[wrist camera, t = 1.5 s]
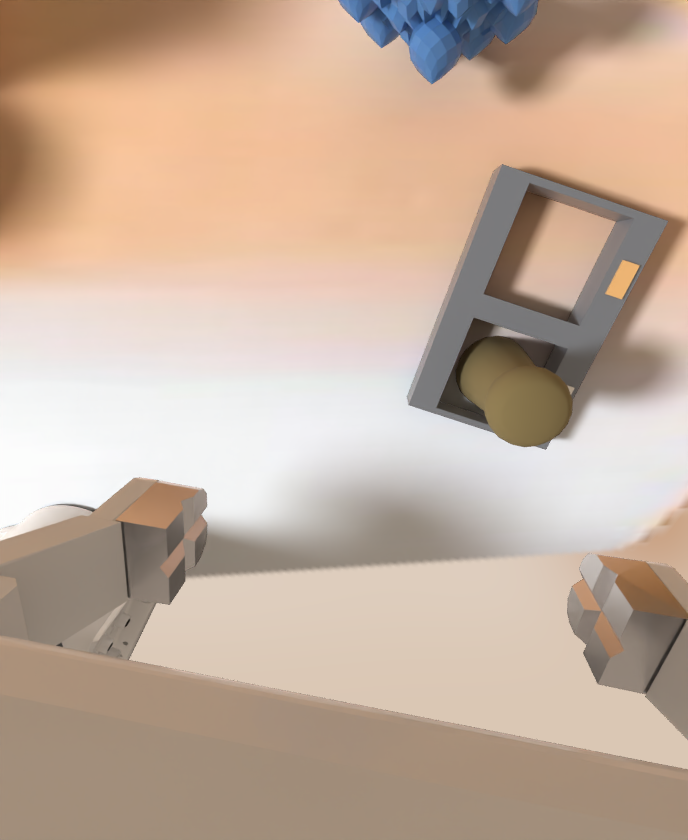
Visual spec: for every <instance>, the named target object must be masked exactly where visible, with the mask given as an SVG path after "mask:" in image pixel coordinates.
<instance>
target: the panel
mask: <svg viewBox="0 0 688 840" xmlns="http://www.w3.org/2000/svg"><path fill="white" fill-rule="evenodd" d="M526 191H528V192H531V193H534V194H537V195H540V196H543V197H545V198H548V199H551V200H554V201H557V202H560V203H563V204H566V205H569V206H572V207H575V208H578V209H581V210H584V211H586V212H589V213H592V214H595V215H598V216H601V217H604V218H607V219H610V220H613V221H616V223H615V225H614V227H613V229H612V231H611V233H610V235H609V237H608V239H607V241H606V243H605V245H604V248H603V250H602V252H601V254H600V256H599V258H598V260H597V262H596V264H595V266H594V268H593V270H592V272H591V274H590V276H589V278H588V280H587V282H586V284H585V286H584V288H583V290H582V292H581V294H580V296H579V298H578V300H577V302H576V304H575V306H574V308H573V310H572V312H571V314H570V316H569V318H568V320H567V322H566V321H563V320H560V319H557V318H554V317H551V316H548V315H545V314H542V313H539V312H536V311H533V310H530V309H527V308H524V307H521V306H518V305H515V304H512V303H509V302H506V301H503V300H500V299H497V298H494V297H491V296H488V295H485V294H484V291H485V289H486V287H487V284H488V282H489V279H490V277H491V274H492V272H493V270H494V267H495V265H496V262H497V260H498V258H499V255H500V253H501V250H502V248H503V246H504V243H505V241H506V238H507V236H508V233H509V231H510V229H511V226H512V224H513V221H514V219H515V217H516V214H517V212H518V209H519V207H520V205H521V202H522V200H523V197H524V195H525V192H526ZM667 223H668V221H666V220H663V219H661V218H658V217H655V216H652V215H649V214H646V213H643V212H640V211H637V210H634V209H631V208H628V207H626V206H623V205H620V204H617V203H614V202H611V201H608V200H605V199H602V198H599V197H596V196H593V195H590V194H588V193H585V192H582V191H579V190H576V189H573V188H570V187H567V186H564V185H561V184H558V183H555V182H553V181H550V180H547V179H544V178H541V177H538V176H535V175H532V174H529V173H526V172H523V171H520V170H517V169H515V168H512V167H509V166H506V165H503V164H502V165H501V166H499V167H498V168H497V169H496V170H494V171H493V174H492V177H491V179H490V182H489V184H488V187H487V190H486V192H485V195H484V197H483V200H482V203H481V205H480V208H479V210H478V213H477V216H476V218H475V221H474V223H473V226H472V229H471V231H470V234H469V236H468V239H467V242H466V244H465V247H464V249H463V252H462V255H461V257H460V260H459V263H458V265H457V268H456V270H455V273H454V276H453V278H452V281H451V283H450V286H449V289H448V291H447V294H446V296H445V299H444V302H443V304H442V307H441V309H440V312H439V315H438V317H437V320H436V322H435V325H434V328H433V330H432V333H431V335H430V338H429V341H428V343H427V346H426V349H425V351H424V354H423V356H422V359H421V362H420V364H419V367H418V369H417V372H416V375H415V377H414V380H413V382H412V385H411V388H410V390H409V393H408V395H407V399H408V404H409V405H410V406H413V407H416V408H419V409H422V410H425V411H428V412H432V413H435V414H438V415H441V416H444V417H447V418H450V419H453V420H456V421H459V422H462V423H465V424H468V425H472V426H475V427H478V428H481V429H484V430H487V431H490V432H493V433H494V431H493V430H492V429H491V428H490V426H489V424H488V421H487V419H486V416H483V415H480V414H477V413H474V412H471V411H468V410H465V409H462V408H459V407H456V406H453V405H450V404H447V403H444V402H440V401H439V400H440V398H441V395H442V393H443V390H444V388H445V385H446V383H447V381H448V378H449V376H450V373H451V371H452V369H453V366H454V364H455V361H456V359H457V357H458V354H459V352H460V349H461V347H462V344H463V342H464V340H465V337H466V335H467V332H468V330H469V328H470V325H471V323H472V320H473V318H477V319H480V320H483V321H486V322H489V323H492V324H495V325H498V326H501V327H504V328H507V329H510V330H513V331H516V332H519V333H522V334H525V335H528V336H531V337H534V338H537V339H540V340H543V341H546V342H549V343H552V344H555V346H554V349H553V351H552V353H551V355H550V357H549V359H548V361H547V363H546V365H545V367H544V368H546V369H547V370H549V371H551V372H553V373H554V374H556V375H558V376H559V377H560V378H561V379H562V380H563V381H564V383H565V384H566V385H567V386H568V388H569V391H570V394H571V397H572V400H573V398H574V396H575V394H576V393H577V391H578V389H579V387H580V385H581V383H582V381H583V380H584V378H585V376H586V374H587V372H588V370H589V368H590V366H591V365H592V363H593V361H594V359H595V357H596V355H597V353H598V351H599V350H600V348H601V346H602V344H603V342H604V340H605V338H606V337H607V335H608V333H609V331H610V329H611V327H612V325H613V323H614V322H615V320H616V318H617V316H618V314H619V312H620V310H621V309H622V307H623V305H624V303H625V301H626V299H627V297H628V295H629V294H630V292H631V290H632V288H633V286H634V284H635V282H636V281H637V279H638V277H639V275H640V273H641V271H642V269H643V267H644V266H645V264H646V262H647V260H648V258H649V256H650V254H651V253H652V251H653V249H654V247H655V245H656V243H657V241H658V239H659V238H660V236H661V234H662V232H663V230H664V228H665V226H666V225H667ZM550 441H551V440H550ZM550 441H549V442H546V443H544V444H541V445H538V446H536V447H539V448H542V449H545V450H546V449H547V447H548V445H549V443H550Z"/></svg>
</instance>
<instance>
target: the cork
mask: <svg viewBox="0 0 688 840" xmlns="http://www.w3.org/2000/svg"><path fill="white" fill-rule="evenodd" d="M456 381H457V384H458V386H459V389H460V391H461V392H462V393H463V394H464V396H465V397H466V398H467V399H468V400H470V401H471V402H472V403H474V404H475V405H477V406H478V407H479V408H481V409H482V410H483V411H485V416H486V419H487V421H488V424H489V426H490V428H491V429H492V430H493V431H494V433H495V434H496V435H497V436H498V437H499V438H501V439H503V440H505V441H506V442H508V443H510V444H512V445H517V446H522V447H531V446H538V445H541V444H544V443H546V442H549V441H550V440H552V439H553V438H555V437H556V436H557V435H559V434H560V433H561V432H562V430H563V429H564V428H565V427H566V425H567V424H568V422H569V419H570V417H571V414H572V404H573V400H572V397H571V394H570V391H569V388H568V386H567V385H566V384H565V383H564V381H563V380H562V379H561V378H560V377H559V376H558V375H556V374H554V373H553V372H551V371H549V370H547V369H546V368H542V367H537V366H535V364H534V363H533V362H532V360H531V359H530V357H529V356H528V355H527V353H526V352H525V351H524V350H523V348H522V347H521V346H520V345H519V344H518V343H516V342H515V341H513V340H511V339H510V338H505V337H500V336H493V337H485V338H483V339H481V340H479V341H476V342H474V343H473V344H472V345H471V346H470V347H468V348H467V349H466V350H465V351H464V353H463V354H462V356H461V357H460V359H459V362H458V365H457V369H456Z"/></svg>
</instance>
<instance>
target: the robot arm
mask: <svg viewBox="0 0 688 840" xmlns="http://www.w3.org/2000/svg"><path fill="white" fill-rule="evenodd" d="M206 507H207V493H206V492H205V490H204V489H202V488H196V487H191V486H186V485H180V484H175V483H170V482H164V481H159V480H154V479H147V478H141V477H139V478H133V479H132V480H131V481H130V482H129V483H127V484H126V485H125V486H124V487H123V488H121V489H120V490H119V491H118V492H117V493H115V494H114V495H113V496H112V497H111V498H109V499H108V500H107V501H106V502H105V503H103V504H102V505H101V506H100V507H99V508H98V509H96V510H95V511H94V512H92V511H89V510H86V509H83V508H79V507H75V506H67V505H55V506H48V507H44V508H41V509H38V510H36V511H34V512H33V513H31V514H30V515H28V516H27V517H26V518H25V519H24V520H23V521H22V522H21V523H19V524H18V525H15V526H10V527H6V528H2V529H0V840H688V769H682V768H678V767H672V766H667V765H662V764H657V763H652V762H647V761H642V760H637V759H631V758H626V757H621V756H616V755H611V754H606V753H601V752H596V751H591V750H586V749H581V748H576V747H571V746H566V745H561V744H556V743H551V742H546V741H540V740H535V739H530V738H525V737H520V736H515V735H510V734H504V733H500V732H495V731H490V730H485V729H480V728H475V727H470V726H465V725H459V724H454V723H449V722H444V721H439V720H433V719H429V718H423V717H418V716H413V715H408V714H403V713H398V712H393V711H388V710H382V709H377V708H372V707H367V706H362V705H357V704H351V703H346V702H341V701H336V700H331V699H326V698H321V697H315V696H310V695H305V694H300V693H295V692H290V691H284V690H279V689H275V688H269V687H264V686H259V685H254V684H249V683H243V682H238V681H234V680H228V679H223V678H218V677H213V676H208V675H203V674H198V673H193V672H187V671H182V670H177V669H172V668H167V667H162V666H157V665H151V664H147V663H141V662H136V661H131V660H129V658H130V656H131V654H132V652H133V650H134V648H135V646H136V644H137V642H138V640H139V638H140V636H141V634H142V632H143V629H144V627H145V625H146V623H147V621H148V619H149V617H150V615H151V613H152V611H153V609H154V607H155V604H156V603H162V604H168V605H170V603H171V602H172V600H173V599H174V597H175V596H176V594H177V593H178V591H179V590H180V588H181V587H182V585H183V584H184V582H185V571H186V570H188V569H190V568H192V567H194V566H195V565H196V564H197V562H198V560H199V559H200V557H201V555H202V552H203V549H204V547H205V544H206V538H207V522H206V521H205V520H204V518H203V517H202V515H201V514H202V513H203V511H204V510H205V509H206ZM579 570H580V572H581V575H582V576H583V579H582V580H581V581H579V582H577V583H576V584H574V585H573V586H572V588H571V591H570V594H569V597H568V608H567V613H568V618H569V622H570V625H571V627H572V630H573V632H574V634H575V635H576V636H577V637H579V638H580V639H581V640H582V641H583V642H584V643H585V644H587V645H586V648H585V650H584V652H583V653H584V656H585V658H586V660H587V662H588V664H589V666H590V668H591V671H592V673H593V675H594V677H595V679H596V681H597V683H598V684H600V685H605V686H609V687H614V688H618V689H624V690H628V691H633V692H637V693H642V694H646V696H645V697H646V698H647V699H648V700H649V701H650V702H651V703H652V704H653V705H654V706H655V707H656V708H657V709H658V710H659V711H660V712H661V713H662V714H663V715H664V716H665V717H666V718H667V719H668V720H669V721H670V722H671V723H672V724H673V725H674V726H675V727H676V728H677V729H678V730H679V731H680V732H681V733H682V734H683V736H684V737H685V738H687V740H688V583H687V582H686V581H685V580H684V579H683V577H682V576H681V575H680V574H679V573H678V572H677V571H676V570H675V569H674V568H673V567H671V566H669V565H667V564H663V563H654V562H646V561H637V560H630V559H624V558H617V557H610V556H603V555H596V554H590V553H588V554H587V556H586V557H585V558H584V559H583V561H582V563H581V565H580V568H579Z"/></svg>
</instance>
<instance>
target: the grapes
mask: <svg viewBox="0 0 688 840" xmlns="http://www.w3.org/2000/svg"><path fill="white" fill-rule="evenodd" d="M338 1H339V2H340V4H341V5H342V7H343V8H344V9H345V10H346V11H347V12H348V13H349V14H350V15H351V16H352V17H353V18H354V19H355V20H356V21H357V22H358V23H359V22H361V25H362V26H363V28H364V30H365V31H366V33H367V34H368V36H369V37H370V38H371V39H372V40H373V41H375V42H376V43H377V44H378V45H379V46H380V47H381V48H383V47H384V46H386V45H387V44H389V43H390V42H392V41H393V40H395V39H396V38H397V37H398V36H399V35H400V36H401V38H402V39H403V40H404V41H405V42H406V43H407V44H408V46H409V51H410V59H411V61H412V62H413V64H414V66H415V67H416V69H417V71H418V72H419V73H420V74H421V75H422V76H423V77H424V78H425V79H427V80H428V81H429V82H430V83H431V84H433V83H435V82H436V81H438V80H439V79H441V78H442V77H443V76H444V75H445V74H446V73H447V72H449V71H450V70H451V69H452V68H453V67H454V66H455V65H456V63H457V61H458V59H459V58H460V56H461V54H463V55H464V56H465V57H466V58H467V59H469V60H470V59H472V58H473V57H475V56H476V55H478V54H479V53H480V52H481V51H482V50H483V49H484V48H485V47H487V46H488V45H489V44H490V43H491V41H492V39H493V38H494V36H495V35H496V36H497V37H498V38H499V39H500V40H501V41H502V42H503V43H505V44H507V43H508V42H510V41H511V40H513V39H514V38H516V37H517V36H518V35H519V34H520V33H521V32H522V31H523V30H525V29H526V28H527V27H528V26H529V24H530V23H531V21H532V20H533V18H534V16H535V15H536V12H537V6H538V0H338Z"/></svg>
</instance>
